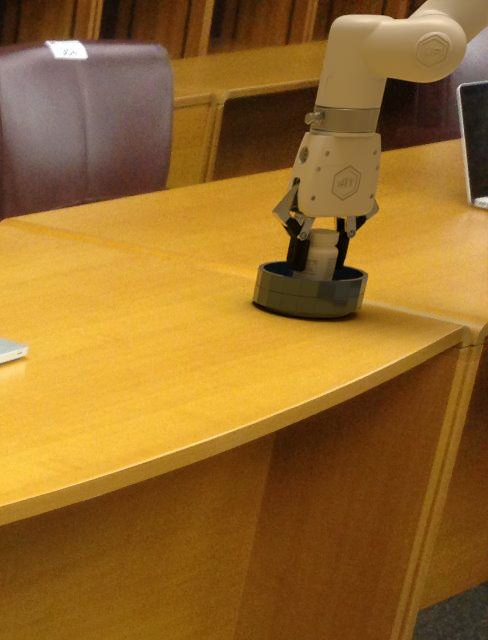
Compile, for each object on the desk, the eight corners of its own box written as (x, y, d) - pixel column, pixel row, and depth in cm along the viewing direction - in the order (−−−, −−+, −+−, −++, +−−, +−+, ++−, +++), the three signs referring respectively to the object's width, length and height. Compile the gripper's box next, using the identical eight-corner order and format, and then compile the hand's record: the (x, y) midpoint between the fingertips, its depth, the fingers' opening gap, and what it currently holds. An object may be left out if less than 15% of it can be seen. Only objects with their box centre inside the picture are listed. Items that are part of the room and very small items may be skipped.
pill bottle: (318, 292, 204) (334, 227, 200) (333, 301, 199) (349, 235, 195) (282, 291, 204) (297, 226, 200) (296, 300, 199) (312, 234, 195)
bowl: (381, 317, 197) (390, 278, 195) (289, 322, 195) (297, 283, 193) (319, 295, 209) (327, 258, 207) (231, 300, 207) (238, 262, 205)
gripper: (301, 126, 187) (271, 277, 195) (424, 123, 190) (390, 272, 198) (265, 119, 194) (238, 265, 202) (385, 116, 197) (353, 260, 205)
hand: (314, 267), depth 200 cm, fingers closed on pill bottle, 4 cm apart
